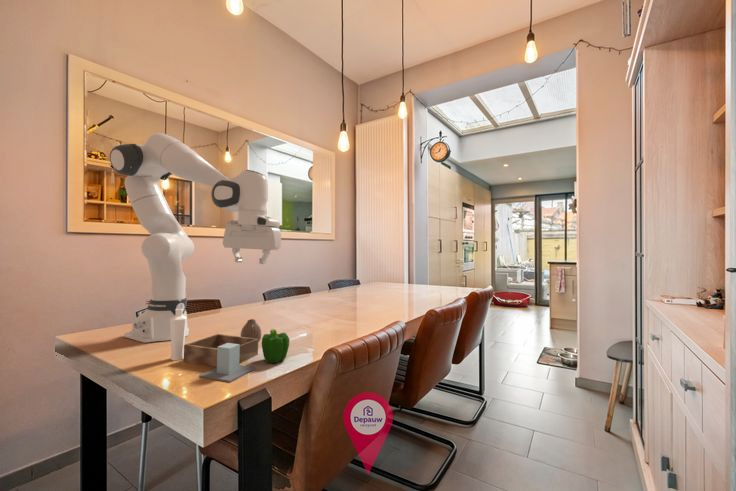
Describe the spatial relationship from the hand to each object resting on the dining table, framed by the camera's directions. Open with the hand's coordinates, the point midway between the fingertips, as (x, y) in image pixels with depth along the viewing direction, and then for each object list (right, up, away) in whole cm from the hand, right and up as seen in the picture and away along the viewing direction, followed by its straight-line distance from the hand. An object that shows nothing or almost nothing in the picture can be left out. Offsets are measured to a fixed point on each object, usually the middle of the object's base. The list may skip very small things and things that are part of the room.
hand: (250, 263), depth 105 cm
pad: (0, -29, -17) cm, 33 cm away
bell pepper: (+10, -30, -6) cm, 32 cm away
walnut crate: (-7, -29, -5) cm, 30 cm away
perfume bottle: (-20, -29, -6) cm, 36 cm away
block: (0, -29, -16) cm, 33 cm away
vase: (-3, -30, +10) cm, 31 cm away
